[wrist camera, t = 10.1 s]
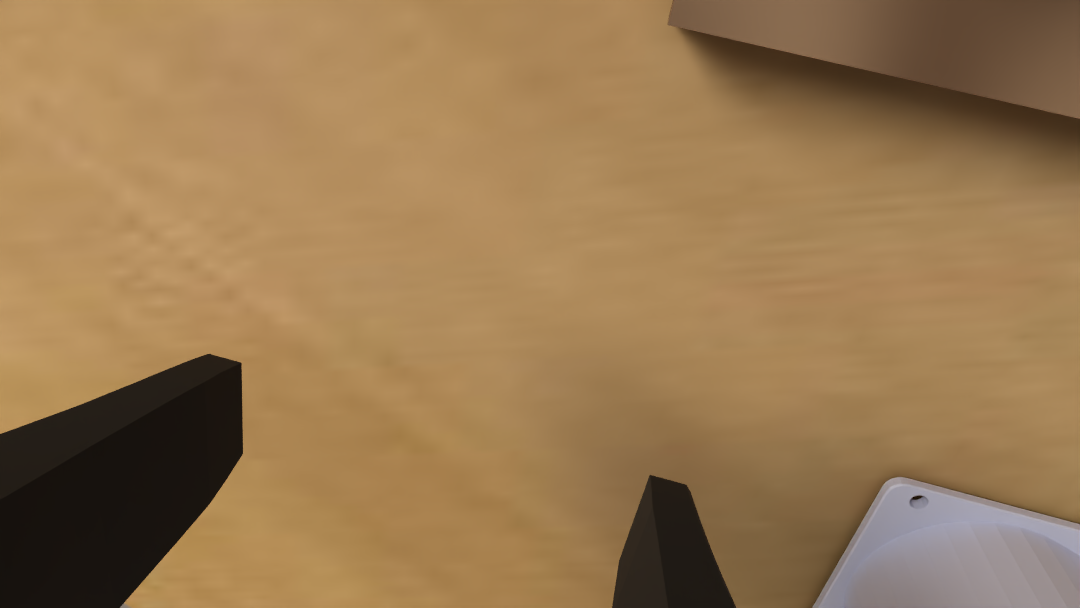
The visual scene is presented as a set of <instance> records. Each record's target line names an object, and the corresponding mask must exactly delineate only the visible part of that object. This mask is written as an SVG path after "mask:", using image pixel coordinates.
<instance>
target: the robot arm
mask: <svg viewBox="0 0 1080 608" xmlns="http://www.w3.org/2000/svg"><path fill="white" fill-rule="evenodd" d="M242 454H243V429H242V370H241V363H240V362H237V361H233V360H229V359H226V358H222V357H218V356H215V355H211V354H207V355H204V356H201V357H198V358H195V359H193V360H190V361H187V362H185V363H182V364H180V365H177V366H175V367H172V368H170V369H167V370H165V371H162V372H160V373H158V374H155V375H153V376H150V377H148V378H145V379H143V380H141V381H138V382H136V383H133V384H131V385H128V386H126V387H123V388H121V389H119V390H116V391H114V392H111V393H109V394H106V395H104V396H101V397H99V398H96V399H94V400H91V401H89V402H86V403H84V404H81V405H79V406H76V407H73V408H71V409H68V410H65V411H63V412H60V413H57V414H54V415H52V416H49V417H46V418H43V419H41V420H38V421H35V422H32V423H30V424H27V425H24V426H22V427H19V428H16V429H13V430H11V431H8V432H5V433H2V434H0V608H120V606H122V604H123V603H124V602H125V601H126V600H127V599H128V598H129V596H130V595H131V594H132V593H133V592H134V591H135V590H136V588H137V587H138V586H139V585H140V584H141V583H142V581H143V580H144V579H145V578H146V577H147V576H148V575H149V573H150V572H151V571H152V570H153V569H154V568H155V567H156V565H157V564H158V563H159V562H160V561H161V560H162V559H163V557H164V556H165V555H166V554H167V553H168V552H169V551H170V549H171V548H172V547H173V546H174V545H175V544H176V543H177V541H178V540H179V539H180V538H181V537H182V536H183V534H184V533H185V532H186V531H187V530H188V529H189V527H190V526H191V525H192V524H193V523H194V522H195V520H196V519H197V518H198V517H199V516H200V515H201V513H202V512H203V511H204V510H205V509H206V507H207V506H208V505H209V504H210V503H211V501H212V500H213V498H214V497H215V495H216V494H217V492H218V491H219V490H220V488H221V487H222V485H223V484H224V482H225V481H226V479H227V478H228V476H229V475H230V473H231V471H232V470H233V468H234V467H235V465H236V464H237V462H238V461H239V459H240V457H241V456H242ZM917 495H921V496H923V497H922V498H920V499H917V500H911V498H912V497H914V496H917ZM612 608H736V606H735V604H734V602H733V599H732V597H731V595H730V593H729V590H728V588H727V586H726V583H725V581H724V579H723V577H722V574H721V572H720V570H719V567H718V565H717V563H716V560H715V558H714V555H713V553H712V550H711V548H710V545H709V543H708V540H707V537H706V535H705V532H704V529H703V527H702V524H701V521H700V518H699V516H698V513H697V510H696V507H695V504H694V501H693V498H692V495H691V492H690V490H689V489H688V487H687V485H685V484H681V483H678V482H674V481H670V480H667V479H663V478H659V477H656V476H652V475H650V476H649V479H648V482H647V485H646V487H645V490H644V493H643V496H642V499H641V501H640V504H639V507H638V510H637V513H636V515H635V518H634V521H633V524H632V527H631V529H630V532H629V535H628V538H627V541H626V543H625V546H624V549H623V552H622V555H621V557H620V560H619V566H618V573H617V579H616V586H615V592H614V599H613V606H612ZM812 608H1080V524H1077V523H1073V522H1070V521H1066V520H1062V519H1058V518H1055V517H1051V516H1047V515H1044V514H1040V513H1036V512H1032V511H1029V510H1025V509H1021V508H1017V507H1014V506H1010V505H1006V504H1002V503H999V502H995V501H991V500H987V499H984V498H980V497H976V496H973V495H969V494H965V493H961V492H958V491H954V490H950V489H946V488H943V487H939V486H935V485H931V484H928V483H924V482H920V481H917V480H913V479H909V478H904V477H896V478H892V479H890V480H888V481H886V482H885V484H884V485H883V486H882V488H881V489H880V491H879V493H878V495H877V496H876V498H875V500H874V501H873V503H872V505H871V507H870V508H869V510H868V512H867V514H866V515H865V517H864V519H863V521H862V522H861V524H860V526H859V527H858V529H857V531H856V533H855V534H854V536H853V538H852V540H851V541H850V543H849V545H848V547H847V548H846V550H845V552H844V553H843V555H842V557H841V559H840V560H839V562H838V564H837V566H836V567H835V569H834V571H833V573H832V574H831V576H830V578H829V579H828V581H827V583H826V585H825V586H824V588H823V590H822V592H821V593H820V595H819V597H818V599H817V600H816V602H815V604H814V605H813V607H812Z"/></svg>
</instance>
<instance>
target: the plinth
mask: <svg viewBox="0 0 1080 608" xmlns="http://www.w3.org/2000/svg"><path fill="white" fill-rule="evenodd" d="M668 25H671V26H675V27H679V28H684V29H688V30H692V31H697V32H701V33H706V34H710V35H714V36H719V37H723V38H728V39H732V40H736V41H741V42H745V43H750V44H754V45H758V46H763V47H767V48H771V49H776V50H780V51H785V52H789V53H793V54H798V55H802V56H807V57H811V58H815V59H820V60H824V61H828V62H833V63H837V64H842V65H846V66H850V67H855V68H859V69H864V70H868V71H872V72H877V73H881V74H885V75H890V76H894V77H899V78H903V79H907V80H912V81H916V82H921V83H925V84H929V85H934V86H938V87H942V88H947V89H951V90H956V91H960V92H964V93H969V94H973V95H978V96H982V97H986V98H991V99H995V100H999V101H1004V102H1008V103H1013V104H1017V105H1021V106H1026V107H1030V108H1035V109H1039V110H1043V111H1048V112H1052V113H1057V114H1061V115H1065V116H1070V117H1074V118H1078V119H1080V0H673V3H672V7H671V11H670V15H669V20H668Z"/></svg>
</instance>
